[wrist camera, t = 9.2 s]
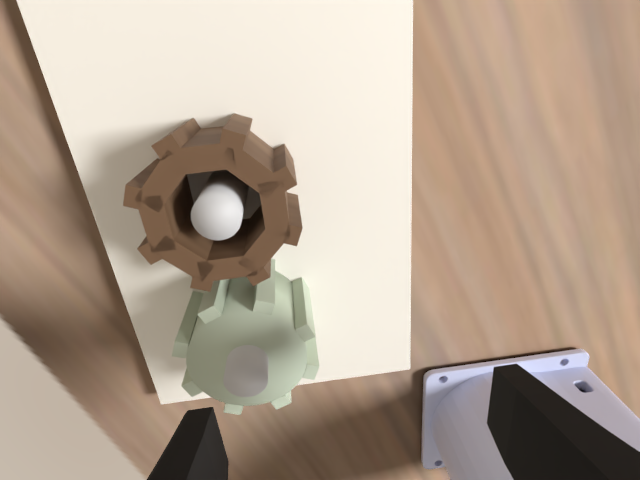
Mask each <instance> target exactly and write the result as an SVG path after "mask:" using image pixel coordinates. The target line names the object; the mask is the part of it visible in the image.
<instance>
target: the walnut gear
mask: <svg viewBox="0 0 640 480" xmlns="http://www.w3.org/2000/svg"><path fill="white" fill-rule="evenodd" d="M252 120H253V119H252V118H249V117H246V116H242V115H239V114H235V113H234V114H233V115H232V117H231V118H230V119H229V121H228V122H227V123H226V124H225V126H220V127H212V128H203V129H201V128H200V126H199V125H198V123H197V122H196V120H195V119H194V118H192V119H191V120H189V121H187V122H186V123H184V124H182V125H181V126H179V127H177V128H176V129H174V130H173V131H172V132H170V133H169V134H167V135H166V136H165V137H163V138H162V139H160V140H159V141H157V142H156V143H155V144H153V145H152V146H151V147H152V148H153V149H154V151H155V152H156V153H157V155H158V156H159V158H160V159H158V158H157V159H156V160H154V161H153V162H152V163H151V164H150V165H148V166H147V167H146V168H145V169H144V170H143V171H141V172H140V173H139V174H138V175H137V176H135V177H134V178H133V179H132V180H131V181H129V182H128V183H127V184H126V185H125V193H124V201H123V206H125V207H130V208H134V209H138V210H139V213H140V217H141V220H142V223H143V226H144V229H145V233H146V237H145V239H144V240H143V241H142V243H141V244H140V245H139V247H138V248H137V250H138V251H139V252H140V253H141V254H142V255H143V257H144V258H145V259H146V260H147V261H148V263H149V264H150V265H152V264H154V263H156V262H157V261H159V260H161V259H163V260H165V261H166V262H168V263H170V264H172V265H173V266H175V267H177V268H178V269H180V270H182V271H183V272H185V273H187V274H188V275H190V276H192V281H191V286H190V288H193V289H198V290H203V291H208V292H211V288H212V285H213V281H217V280H224V279H232V278H240V277H247V278H248V280H249V281H250V283H251V284H252V285H253V286H255V285H257V284H259V283H261V282H262V281H264V280H266V279H268V278H270V276H271V258H272V257H273V256H274V255H275V253H276V252H277V251H278V250H279V249H280V247H281V246H282V245H283V244H289V245H293V246H297V245H298V241H299V238H300V235H301V232H302V228H303V227H302V220H301V214H300V207H299V200H298V195H296V194H292V193H288V192H287V190H289V189H291V188H292V187H294V186H296V185H297V180H296V173H295V167H294V160H293V158H292V156H291V154H290V152H289V151H288V149H287V147H286V145H285V144H283V145H281V146H279V147H277V148H276V149H273V148H272V147H271V146H269V145H268V144H267V143H266V142H264V141H263V140H262V139H260V138H259V137H258V136H256V135H255V134H254V133H253V132H251V131H250V128H251V124H252ZM218 170H228V171H229V172H230V173H232V174H233V175H235V176H236V177H237V178H239V179H240V180H242V181H243V182H244V183H246V184H247V185H248V186H250V187H251V188H253V189H254V190H255V191H257V192H258V193H259V194H260V200H261V205H260V206H259V207H258V209H257V210H256V211H255V212H254V214H253V215H252V216H251V218H247V219H242V222H241V226H240V228H239V230H238V231H237V232H236V234H234V235H233V236H232V237H230V238H228V239H225V240H211V239H208V238H205V237H204V236H202V235H201V234H199V233H198V232H197V231H196V229H195V228H194V226H193V224H192V221H191V210H192V207H193V205H194V202H193V198H192V194H191V190H190V186H189V182H188V178H187V174H193V173H201V172H209V171H218Z"/></svg>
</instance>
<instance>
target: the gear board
mask: <svg viewBox="0 0 640 480" xmlns="http://www.w3.org/2000/svg"><path fill="white" fill-rule="evenodd" d="M17 3H18V6H19V9H20V12H21V14H22V17H23V20H24V23H25V26H26V28H27V31H28V34H29V37H30V39H31V42H32V45H33V48H34V51H35V53H36V56H37V59H38V62H39V65H40V67H41V70H42V73H43V76H44V79H45V81H46V84H47V87H48V90H49V92H50V95H51V98H52V101H53V104H54V106H55V109H56V112H57V115H58V118H59V120H60V123H61V126H62V129H63V132H64V134H65V137H66V140H67V143H68V146H69V148H70V151H71V154H72V157H73V159H74V162H75V165H76V168H77V171H78V173H79V176H80V179H81V182H82V185H83V187H84V190H85V193H86V196H87V199H88V201H89V204H90V207H91V210H92V212H93V215H94V218H95V221H96V224H97V226H98V229H99V232H100V235H101V238H102V240H103V243H104V246H105V249H106V252H107V254H108V257H109V260H110V263H111V266H112V268H113V271H114V274H115V277H116V279H117V282H118V285H119V288H120V291H121V293H122V296H123V299H124V302H125V305H126V307H127V310H128V313H129V316H130V319H131V321H132V324H133V327H134V330H135V332H136V335H137V338H138V341H139V344H140V346H141V349H142V352H143V355H144V358H145V360H146V363H147V366H148V369H149V372H150V374H151V377H152V380H153V383H154V386H155V388H156V391H157V394H158V397H159V399H160V402H161V404H168V403H175V402H182V401H189V400H196V399H203V398H210V397H212V398H214V399H216V400H219V401H221V402H224V403H225V407H224V413H231V414H238V415H241V412H242V409H243V406H251V405H259V404H264V403H268V402H271V403H272V405H273V406H274V407H275V408H276V409H279V408H281V407H283V406H286V405H288V404H290V403H291V390H292V389H293V388H294V387H295V386H296V385H302V384H309V383H316V382H323V381H330V380H337V379H345V378H352V377H359V376H366V375H373V374H380V373H387V372H394V371H401V370H408V369H410V330H411V197H412V63H413V0H17ZM234 113H235V114H239V115H242V116H246V117H249V118H252V119H253V120H252V124H251V128H250V131H251V132H253V133H254V134H255V135H256V136H258V137H259V138H260V139H262V140H263V141H264V142H266V143H267V144H268V145H269V146H271V147H272V148H273V149H276V148H277V147H279V146H281V145H283V144H285V145H286V147H287V149H288V151H289V152H290V154H291V156H292V158H293V160H294V167H295V173H296V180H297V185H296V186H294V187H292V188H291V189H289V190H287V192H288V193H292V194H296V195H298V200H299V207H300V214H301V220H302V227H303V228H302V232H301V235H300V238H299V241H298V245H297V246H293V245H289V244H283V245H282V246H281V247H280V249H279V250H278V251H277V252H276V253H275V255H274V256H273V257H272V258H271V276H270V278H268V279H266V280H264V281H262V282H261V283H259V284H257V285H255V286H253V285H252V284H251V283H250V281H249V280H248V278H247V277H240V278H232V279H224V280H217V281H213V285H212V288H211V292H208V291H203V290H198V289H193V288H190V286H191V281H192V276H190V275H188V274H187V273H185V272H183V271H182V270H180V269H178V268H177V267H175V266H173V265H172V264H170V263H168V262H166V261H165V260H163V259H161V260H159V261H157V262H156V263H154V264H152V265H150V264H149V263H148V261H147V260H146V259H145V258H144V257H143V255H142V254H141V253H140V252H139V251H138V250H137V248H138V247H139V245H140V244H141V243H142V241H143V240H144V239H145V237H146V233H145V229H144V226H143V223H142V220H141V217H140V213H139V210H138V209H134V208H130V207H125V206H123V201H124V193H125V185H126V184H127V183H128V182H129V181H131V180H132V179H133V178H134V177H135V176H137V175H138V174H139V173H140V172H141V171H143V170H144V169H145V168H146V167H147V166H148V165H150V164H151V163H152V162H153V161H154V160H156V159H157V158H158V159H160V158H159V156H158V155H157V153H156V152H155V151H154V149H153V148H152V147H151V146H152V145H153V144H155V143H156V142H157V141H159V140H160V139H162V138H163V137H165V136H166V135H167V134H169V133H170V132H172V131H173V130H174V129H176V128H177V127H179V126H181V125H182V124H184V123H186V122H187V121H189V120H191V119H192V118H194V119H195V120H196V122H197V123H198V125H199V126H200V128H201V129H203V128H212V127H220V126H225V124H226V123H227V122H228V121H229V119H230V118H231V117H232V115H233V114H234ZM187 178H188V182H189V186H190V190H191V194H192V198H193V202H194V205H193V207H192V210H191V221H192V224H193V226H194V228H195V229H196V231H197V232H198V233H199V234H201V235H202V236H204V237H205V238H208V239H211V240H225V239H228V238H230V237H232V236H233V235H234V234H236V232H237V231H238V230H239V228H240V226H241V222H242V219H247V218H251V216H252V215H253V214H254V212H255V211H256V210H257V209H258V207H259V206H260V205H261V200H260V194H259V193H258V192H257V191H255V190H254V189H253V188H251V187H250V186H248V185H247V184H246V183H244V182H243V181H242V180H240V179H239V178H237V177H236V176H235V175H233V174H232V173H230V172H229V171H228V170H218V171H209V172H201V173H193V174H187Z"/></svg>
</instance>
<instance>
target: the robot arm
mask: <svg viewBox="0 0 640 480" xmlns="http://www.w3.org/2000/svg"><path fill="white" fill-rule="evenodd" d="M588 361H589V355H588V353H587V352H586V351H585V350H583V349H574V350H567V351H560V352H553V353H546V354H539V355H532V356H525V357H518V358H511V359H504V360H497V361H490V362H483V363H475V364H468V365H461V366H454V367H447V368H440V369H433V370H429V371H428V372H426V373H425V375H424V378H423V414H422V452H421V461H422V464H423V467H424V468H426V469H435V468H441V467H445V468H446V470H447V472H448V475H449V477H450V480H640V419H639V418H638V417H637V416H636V415H635V414H634V413H633V412H632V411H631V410H630V409H629V408H628V407H627V406H626V405H625V404H624V403H623V402H622V401H621V400H620V399H619V398H618V397H617V396H616V395H615V394H614V393H613V392H612V391H611V390H610V389H609V388H608V387H607V386H606V385H605V384H604V383H603V382H602V381H601V380H600V379H599V378H598V377H597V376H596V375H595V374H594V373H593V372H592V371H591V370H590V369H589V368H588V367H587V365H588ZM442 376H444V377H442ZM440 377H442V378H440ZM147 480H228V458H227V455H226V451H225V448H224V444H223V441H222V437H221V434H220V430H219V427H218V423H217V420H216V416H215V413H214V409H213V407H209V408H202V409H195V410H188V411H187V413H186V414H185V415H184V417H183V419H182V420H181V422H180V424H179V426H178V428H177V429H176V431H175V433H174V435H173V437H172V438H171V440H170V442H169V444H168V445H167V447H166V449H165V450H164V452H163V454H162V455H161V457H160V459H159V461H158V462H157V464H156V466H155V467H154V469H153V471H152V472H151V474H150V475H149V477H148V479H147Z"/></svg>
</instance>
